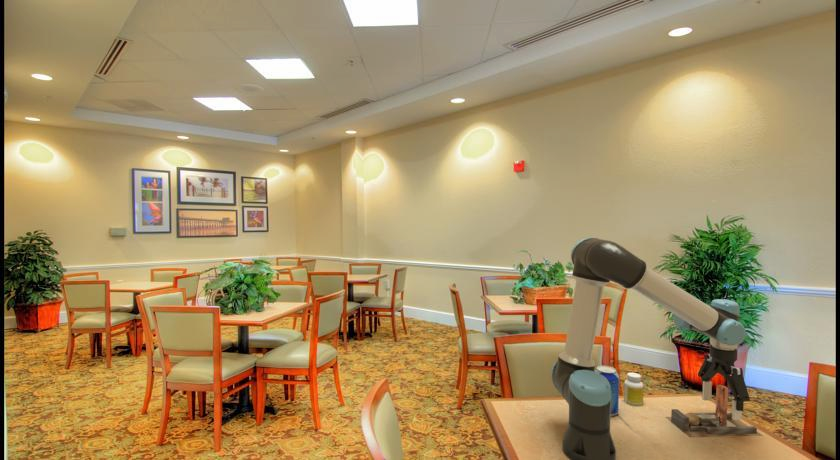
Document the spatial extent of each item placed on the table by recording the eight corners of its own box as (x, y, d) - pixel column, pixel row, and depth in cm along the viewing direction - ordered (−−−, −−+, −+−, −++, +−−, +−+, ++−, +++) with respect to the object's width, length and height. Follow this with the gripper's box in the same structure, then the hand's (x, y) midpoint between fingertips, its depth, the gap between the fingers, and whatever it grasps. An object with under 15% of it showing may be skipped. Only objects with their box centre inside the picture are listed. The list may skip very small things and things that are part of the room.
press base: (689, 440, 135) (690, 423, 135) (664, 420, 148) (665, 404, 148) (762, 439, 136) (763, 422, 136) (732, 418, 149) (732, 403, 149)
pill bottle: (645, 410, 156) (646, 379, 155) (626, 408, 157) (627, 377, 157) (640, 402, 162) (640, 372, 162) (621, 400, 164) (622, 371, 163)
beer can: (594, 415, 152) (595, 372, 151) (592, 405, 160) (592, 363, 159) (619, 419, 149) (621, 374, 148) (616, 408, 157) (617, 366, 156)
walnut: (689, 429, 140) (689, 416, 139) (680, 422, 144) (681, 410, 144) (702, 429, 140) (702, 416, 140) (693, 422, 144) (693, 410, 144)
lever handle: (706, 431, 138) (707, 391, 138) (691, 420, 146) (692, 382, 145) (737, 430, 139) (739, 391, 138) (721, 419, 146) (723, 382, 145)
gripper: (766, 360, 128) (763, 428, 130) (708, 335, 153) (705, 392, 155) (742, 360, 128) (739, 428, 129) (687, 335, 153) (685, 392, 154)
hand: (721, 409), depth 142 cm, fingers open, 13 cm apart
